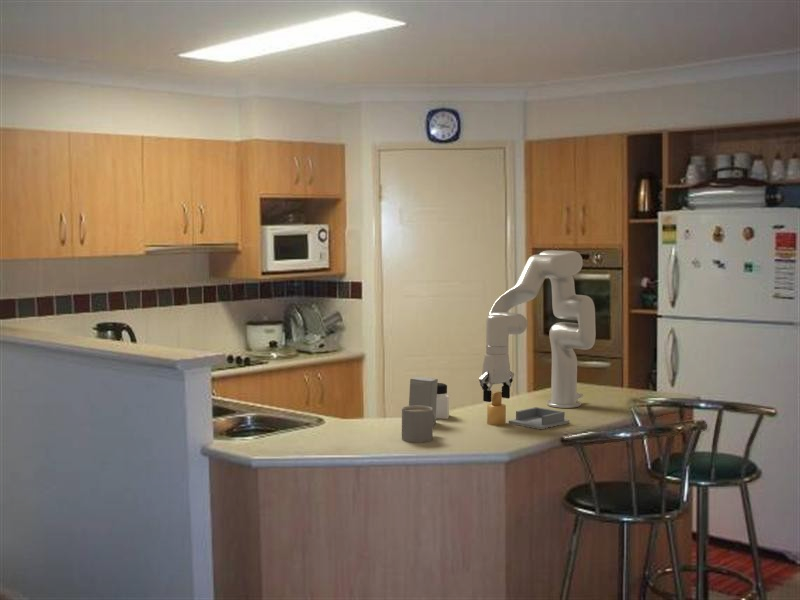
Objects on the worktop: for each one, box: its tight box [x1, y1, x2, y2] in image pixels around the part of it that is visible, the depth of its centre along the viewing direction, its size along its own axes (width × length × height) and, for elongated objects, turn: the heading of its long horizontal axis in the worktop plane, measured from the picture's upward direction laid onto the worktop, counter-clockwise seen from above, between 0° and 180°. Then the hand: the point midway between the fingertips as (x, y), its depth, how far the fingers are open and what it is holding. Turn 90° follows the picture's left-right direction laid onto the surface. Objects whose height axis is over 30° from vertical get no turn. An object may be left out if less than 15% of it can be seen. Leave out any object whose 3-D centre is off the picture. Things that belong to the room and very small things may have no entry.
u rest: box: [508, 406, 570, 430], centre depth 347 cm, size 16×14×4 cm
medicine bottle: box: [436, 382, 450, 420], centre depth 358 cm, size 7×7×12 cm
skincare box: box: [408, 376, 439, 423], centre depth 347 cm, size 8×7×16 cm
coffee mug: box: [401, 405, 436, 443], centre depth 324 cm, size 13×10×10 cm
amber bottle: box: [486, 391, 507, 426], centre depth 346 cm, size 6×6×11 cm
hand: (496, 399), depth 346 cm, fingers open, 9 cm apart
